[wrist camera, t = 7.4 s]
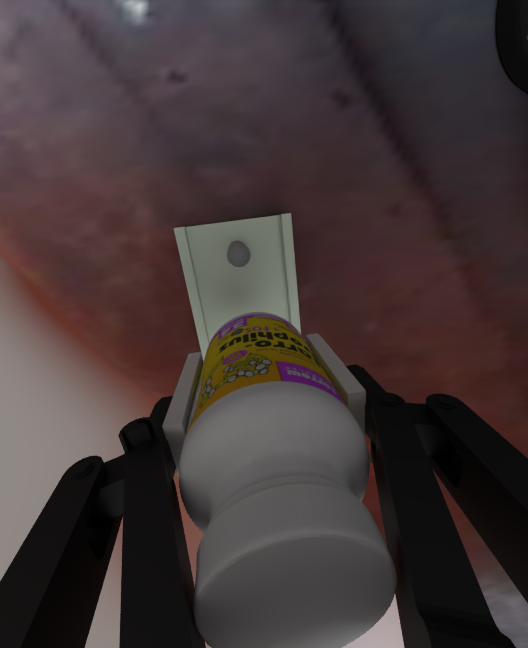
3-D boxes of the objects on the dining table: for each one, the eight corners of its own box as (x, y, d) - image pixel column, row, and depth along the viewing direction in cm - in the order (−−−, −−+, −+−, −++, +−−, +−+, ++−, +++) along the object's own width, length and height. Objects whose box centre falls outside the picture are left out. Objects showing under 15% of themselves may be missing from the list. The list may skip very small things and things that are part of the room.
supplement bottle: (313, 315, 18) (491, 499, 5) (294, 401, 20) (394, 675, 7) (210, 302, 16) (147, 496, 4) (201, 394, 19) (142, 700, 6)
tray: (178, 228, 29) (158, 227, 21) (286, 214, 30) (305, 208, 22) (210, 371, 35) (203, 412, 27) (298, 357, 36) (317, 392, 28)
